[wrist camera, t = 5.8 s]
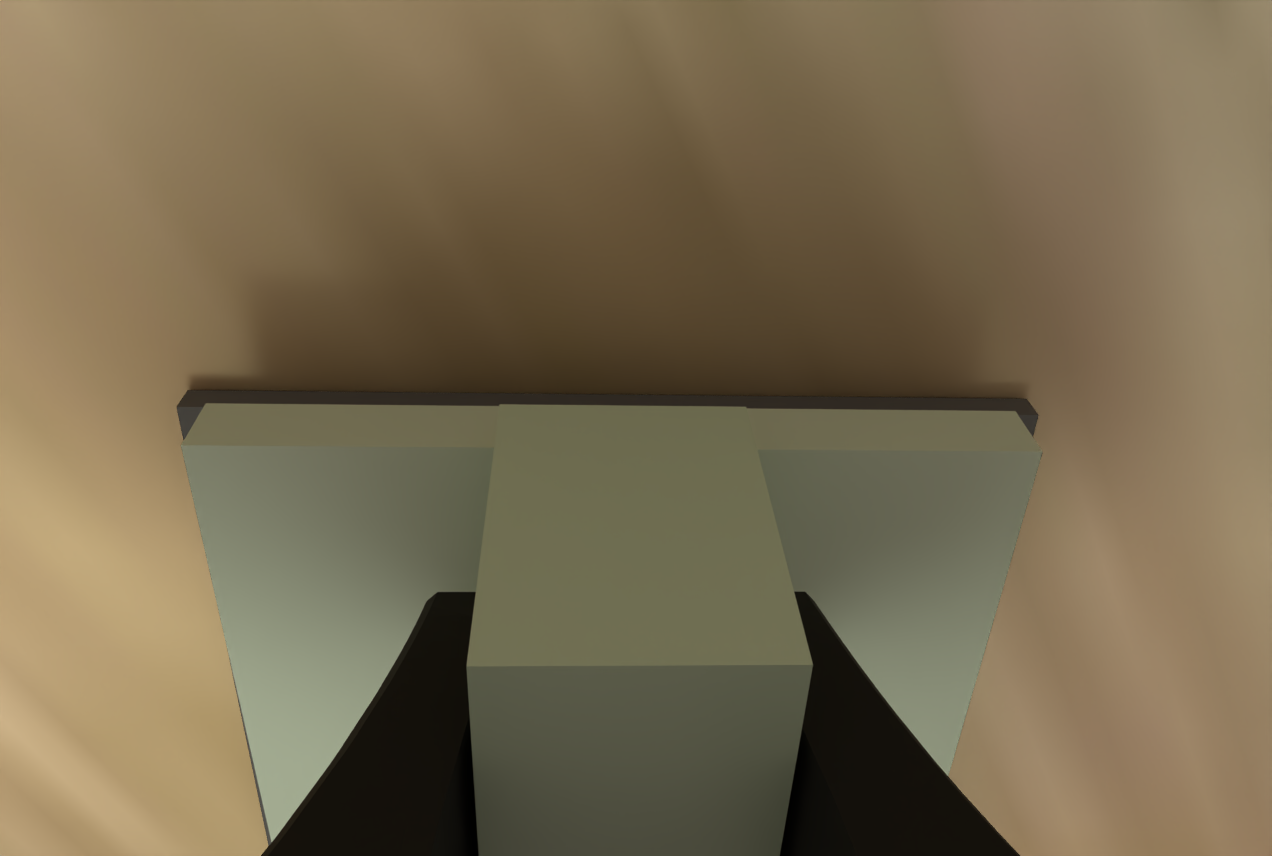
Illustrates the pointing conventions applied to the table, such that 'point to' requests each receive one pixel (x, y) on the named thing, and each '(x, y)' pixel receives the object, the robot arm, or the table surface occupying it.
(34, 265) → the table surface
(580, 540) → the lid
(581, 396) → the mat
